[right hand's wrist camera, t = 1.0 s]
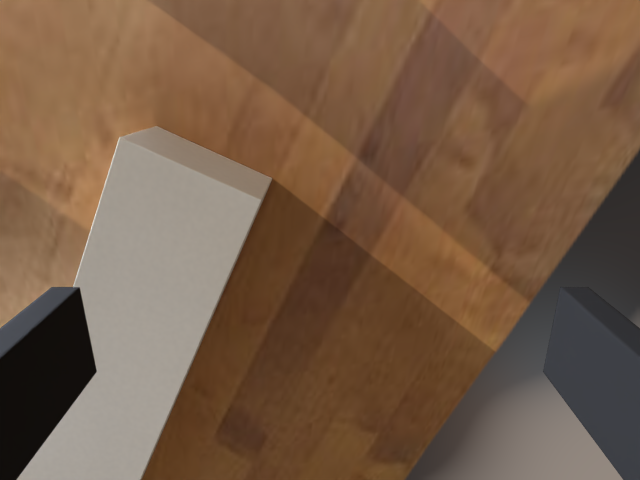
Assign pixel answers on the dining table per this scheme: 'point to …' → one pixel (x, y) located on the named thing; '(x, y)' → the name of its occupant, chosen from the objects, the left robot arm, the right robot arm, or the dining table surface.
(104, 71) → the dining table surface
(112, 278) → the slab
